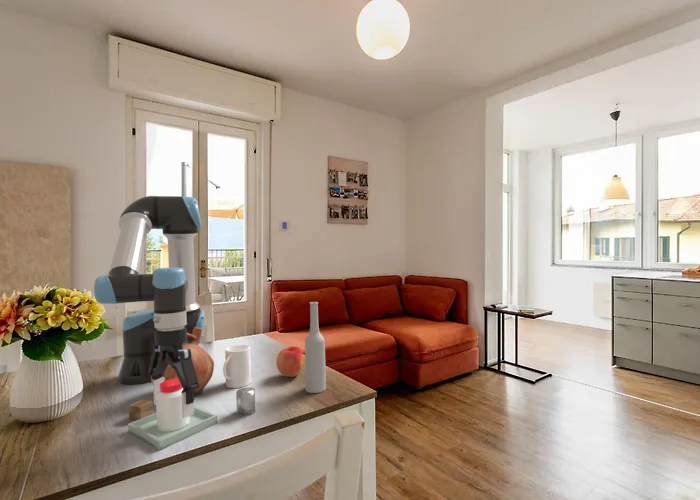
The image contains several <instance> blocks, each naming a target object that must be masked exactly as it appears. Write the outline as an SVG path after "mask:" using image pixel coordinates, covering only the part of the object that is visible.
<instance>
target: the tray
mask: <svg viewBox="0 0 700 500" xmlns="http://www.w3.org/2000/svg"><path fill="white" fill-rule="evenodd" d="M218 422H219V421H218V415H217V414H216V413H213V412H211V411H208V410H205V409H204V408H201V407H199V406H196V405H194V414H193V415H191V416H190V422H189V423H188V424H187V425H186V426H185V427H183V428H181V429H178V430H175V431H170V432H162V431H159V430H158V429H157V417H156V412H155V413H153V414H152V415H149V416H147V417H144V418H142V419H139V420H137V421H132V422H130V423H127V424H128V425H127V429H128V433H130V434H132V435H133V436H135V437H137V438H139V439H140V440H141V441H144V442H145V443H147V444H148V445H150V446H152V447H153V448H155V449H157V450H158V451H162V450H163V449H166V448H168V447H171V446H172V445H174V444H176V443H179V442H180V441H182V440H184V439H187V438H189V437H191V436H193V435H195V434H197V433H199V432H200V433H201V431H203V430H206V429H208V428H210V427H212V426H215V425H216V424H218Z"/></svg>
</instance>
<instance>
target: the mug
mask: <svg viewBox="0 0 700 500" xmlns="http://www.w3.org/2000/svg"><path fill="white" fill-rule="evenodd" d="M224 351H225V352H224V354H225V355H224V357H225V361H224V364H223V367H222V371H223V376H224V378H225V386H226V387H227V388H230V389H239V388H240V389H241V388H246V387H248V386H249V385H251V384H252V382H253V381H252V380H253V379H252V375H251V374H252V373H251V372H252V371H251V369H252V367H251V366H252V365H251V346H249V345H247V344H238V345H237V344H236V345H235V344H234V345H230V346H228V347H225V349H224Z"/></svg>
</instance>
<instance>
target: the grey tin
mask: <svg viewBox="0 0 700 500" xmlns="http://www.w3.org/2000/svg"><path fill="white" fill-rule="evenodd" d="M235 395H236V397H235V398H236V415H237V416H239V417H249V416H251V415H253V414H255V413H256V390H255V388H253V387H250V386H249V387H248V386H246V387H240V389H239V388H238V389H237V390H236V394H235Z"/></svg>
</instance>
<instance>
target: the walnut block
mask: <svg viewBox="0 0 700 500" xmlns="http://www.w3.org/2000/svg"><path fill="white" fill-rule="evenodd" d="M153 405H154V401H153V400H147V399H139V400H137V401H135V402H133V403H131V404H129V405H128V416H129V417H128V420H129V421H132V422H134V421H137V420H139V419H142V418H144V417H147V416H149V415H152V414H154V411H153V410H154V409H153Z"/></svg>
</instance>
